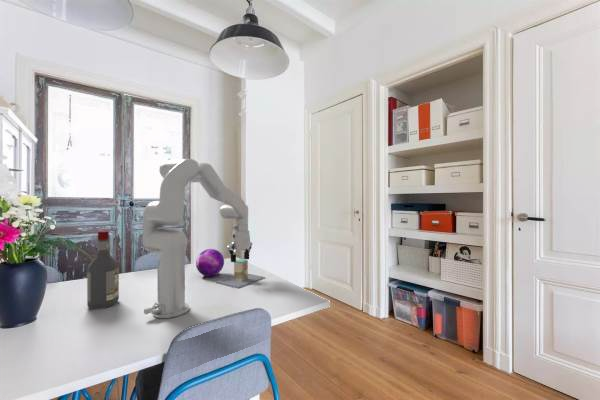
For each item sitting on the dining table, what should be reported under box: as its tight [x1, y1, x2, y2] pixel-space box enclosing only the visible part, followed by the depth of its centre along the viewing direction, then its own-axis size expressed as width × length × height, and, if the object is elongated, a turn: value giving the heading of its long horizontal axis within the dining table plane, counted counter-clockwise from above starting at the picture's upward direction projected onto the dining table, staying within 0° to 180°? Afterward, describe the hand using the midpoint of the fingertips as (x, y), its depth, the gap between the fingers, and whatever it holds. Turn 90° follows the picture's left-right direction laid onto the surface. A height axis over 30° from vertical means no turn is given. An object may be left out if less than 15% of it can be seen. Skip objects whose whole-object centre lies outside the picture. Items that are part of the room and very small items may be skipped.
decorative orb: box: [195, 248, 225, 277], centre depth 152 cm, size 15×15×15 cm
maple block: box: [233, 258, 249, 281], centre depth 143 cm, size 5×5×10 cm
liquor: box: [86, 230, 120, 310], centre depth 110 cm, size 9×9×30 cm
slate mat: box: [215, 273, 266, 289], centre depth 143 cm, size 20×16×1 cm
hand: (240, 260), depth 142 cm, fingers open, 9 cm apart
